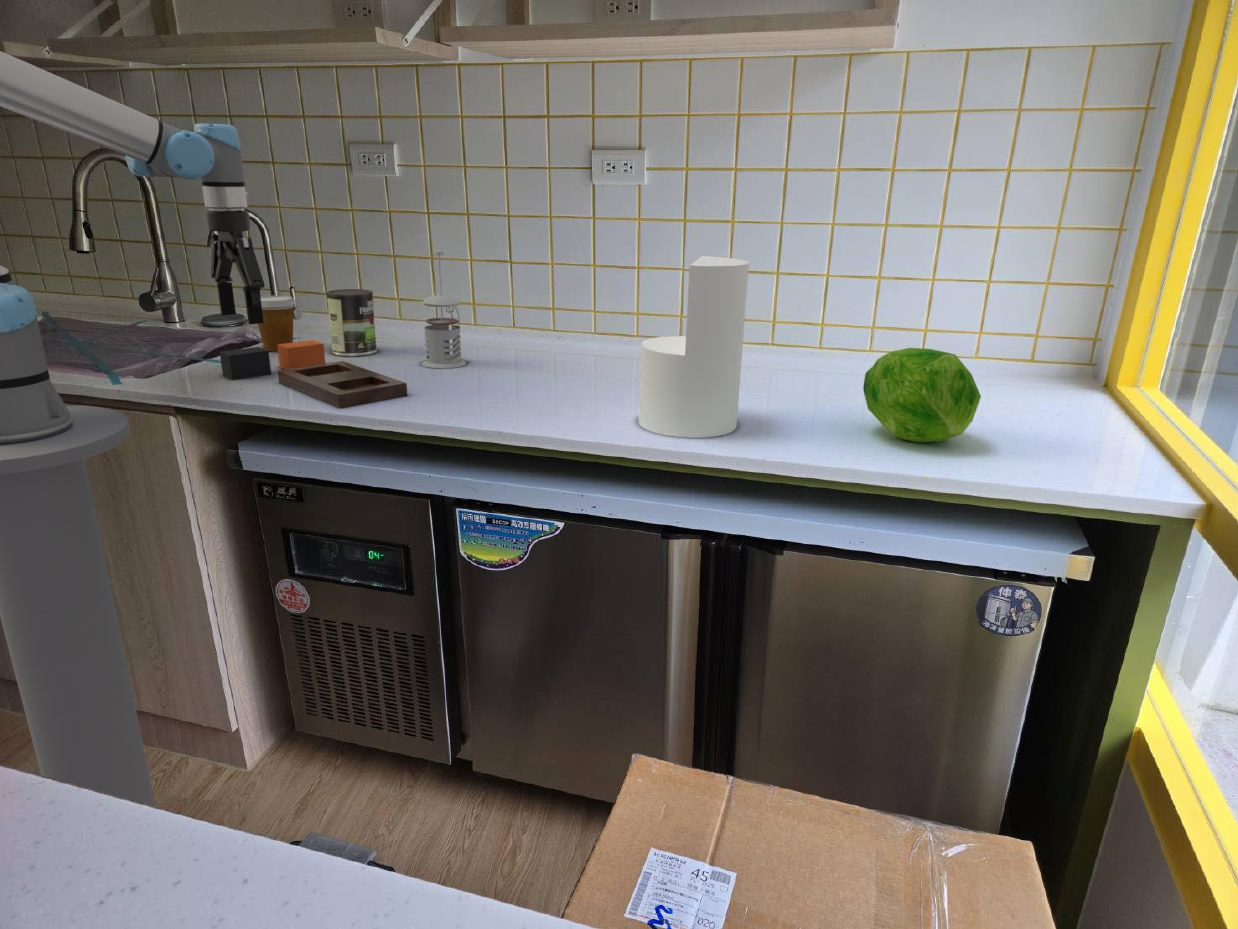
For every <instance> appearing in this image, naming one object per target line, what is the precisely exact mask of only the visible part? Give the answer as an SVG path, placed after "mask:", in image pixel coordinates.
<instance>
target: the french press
mask: <svg viewBox="0 0 1238 929" xmlns="http://www.w3.org/2000/svg"><path fill="white" fill-rule="evenodd" d="M434 255H435V256H438V271H439V272H438V274H439V292H440V293H439V294H437V295H431V296H429V297H426V298H425V299H424V300H423V301H422V304H423V305H424V306H426V307H432V308H440V313H441V314H440V315H441V317H431V318H428V319H426V320H425V323H426V324H428V325H426V326H424V338H425V339H424V342H425V358H426V359H425V360H423V362H422V363H421V365H422V367H426V368H432V369H454V368H461V367H464V366H465V365H467V362H466V361H465V360H464V359H463V358H462V352H461V350H462V346H461V343H462V341H461V340H460V339H461V335H460V333H461V326H460V324H461V323H460V322H461V321H460V313H459V310H458V309H457V308H458V307H457V306H460V304H461V301H460V300H458V299H457V298H455V297H453V296H451V295H448V294H443V293H442V279H441V277H442V276H441V275H442V274H441V257H440V256H444V251H443V249H441V248H437V249H436V250H434ZM451 307H452V309H451ZM443 308H445V311H446V313H448V314H449V313H450V316H451V317H443ZM448 310H449V311H448ZM454 310H456V314H457V318H455V317H454V316H453V313H454ZM457 323H458V324H457ZM450 326H451V328H450ZM450 341H452V342H450Z"/></svg>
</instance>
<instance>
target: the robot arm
mask: <svg viewBox="0 0 1238 929" xmlns="http://www.w3.org/2000/svg"><path fill="white" fill-rule="evenodd" d="M0 107H1V108H4V109H7V110H9V111H12V112H14V113H16V114H19V115H22V116H24V117H26V118H29V119H32V120H34V121H37V122H39V123H42V124H44V125H46V126H47V125H48V126H49V127H52V128H54V129H57V130H60V131H62V132H65V133H67V134H70V135H73V136H75V137H77V138H80V139H83V140H86V141H88V142H90V143H93V144H95V145H97V146H100V147H103V148H106V149H108V150H111V151H112V152H115V153H119V154H121V155H124V157H125V161H126V164H127V167H128V169H129V171H130V172H131V174H132V175H133V176H136V177H148V178H178V179H179V178H180V179H184V180H185V179H186V180H189V181H190V180H196V179H200V180H201V186H202V187H201V190H202V196H203V202H204V207H205V208H206V209H208V210H207V211H206V213H205V215H206V220H207V228H208V230H209V231H211V232H214V233H211V235H210V238H211V261H210V262H211V265H210V278H211V279H214V282H215V283H216V287H217V294H218V301H219V308H220V315H221V316H232V315H237V310H236V304H235V297H234V296H235V295H234V290H233V283H232V282H234V281H233V278H232V277H231V274H232V270H233V264H235V267H236V270H237V271H238V274H239V276H240V278H241V281H242V283H243V285H244V286H243V287H242V291H243V293H244V300H245V307H246V315H247V323H248V325H258V324H260V323H264V321H263V313H262V305H261V297H260V296H261V290H262V288H263V289H264V288H265V287H266V285H265V281H264V278H263V275H262V271H261V269H260V266H259V262H258V259H257V257H256V253H255V250H254V246H253V239H252V237H250V236H247V237H245V236H244V234H243V233H244V232H247V231H250V230H251V220H250V214H249V213H250V212H248V211H247V210H245V209H246V208H248V200H247V197H249V193H248V191H246V185H245V184H246V183H245V176H244V167H243V157H242V156H243V155H242V151H243V150H242V149H241V148H242V147H241V143H240V137H239V133H238V130H237V128H236V127H235V126H234V125H232V124H227V123H225V124H224V123H203V122H202V123H200V122H199V123H196V124H195V125H194V126H193V131H191V130H187V129H186V130H185V129H180V128H177V127H175V126H173V125H171V124H169V123H166V122H164V121H161V120H158V119H157V118H155V117H153V116H150V115H148V114H145V113H143V112H141V111H139V110H137V109H135V108H132V107H130V106H127V105H125V104H122V103H120V102H118V101H116V100H114V99H111V98H109V97H107V96H105V95H102V94H99V93H98V92H95V91H93V90H91V89H88V88H86V87H84V86H81V85H79V84H77V83H75V82H73V81H70V80H68V79H66V78H63V77H61V76H58V75H56V74H54V73H52V72H49V71H47V70H45V69H43V68H40V67H38V66H36V65H34V64H31V63H29V62H27V61H25V60H22V59H19V58H17V57H15V56H13V55H10V54H8V53H6V52H4V51H1V50H0ZM215 232H216V233H215ZM9 270H10V269H8V268H6V267H4V266H3V265H1V264H0V445H8V444H17V443H25V442H31V441H36V440H41V439H45V438H49V437H52V436H56V435H59V434H61V433H64V432H66V431H68V430H69V429H70V428H72V426H73V422H72V417H71V415H70V412H69V410H68V409H67V407H66V406H67V405H66V404H65V402H64V401H63V399H62V397H61V396H60V394H59V393H58V391H57V389H56V388H55V386H54V385H53V382H52V381H51V376H50V372H49V367H48V362H47V357H46V353H45V348H44V343H43V339H42V335H41V330H40V329H41V328H40V324H39V320H38V308H37V305H36V303H35V302H34V299H33V296H32V294H31V292H30V291H28V290H27V289H26V288H24V287H23V286H20V285H17V284H14V282H13V279H12V276H11V273H10V271H9Z"/></svg>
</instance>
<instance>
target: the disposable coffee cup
mask: <svg viewBox="0 0 1238 929" xmlns="http://www.w3.org/2000/svg"><path fill="white" fill-rule="evenodd" d="M260 297H261V305H262V313H263V321H264V323H260V324H257V326H258V330H259V334H260V338H261V341H262V346H263V349H265V350H268V351H269V352H271V353H272V352H273V353H274V352H276V353H278V346H277V344H285V343H293V342H294V314H295V312H294V311H295V310H294V308H295V305H296V302H295V301H294V298H293V297H292V296H291V295H263V296H261V295H260Z"/></svg>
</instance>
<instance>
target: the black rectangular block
mask: <svg viewBox="0 0 1238 929" xmlns="http://www.w3.org/2000/svg"><path fill="white" fill-rule="evenodd" d="M219 358H220V365H221V372H222V376H223V377H225V378H227V379H230V380H232V381H235V380H241V379H249V378H254V377H261V376H269V375H272V368H271V360H270V351H268V350H265V349H264V347H263V348H262V347H260V346H255V347H246V348H239V349H237V348H236V349H229V350H222V351H219Z"/></svg>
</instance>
